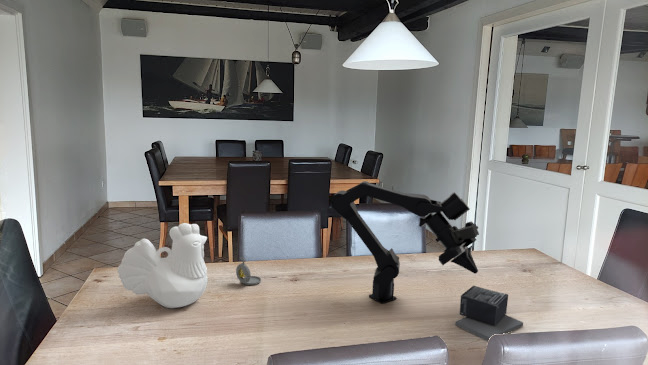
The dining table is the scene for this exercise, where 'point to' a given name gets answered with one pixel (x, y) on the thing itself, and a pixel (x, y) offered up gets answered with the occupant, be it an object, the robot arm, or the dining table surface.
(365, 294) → the dining table surface
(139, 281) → the decorative rooster
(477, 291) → the small box
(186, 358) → the dining table surface
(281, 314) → the dining table surface
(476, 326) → the mat
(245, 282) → the pocket watch
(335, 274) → the dining table surface
